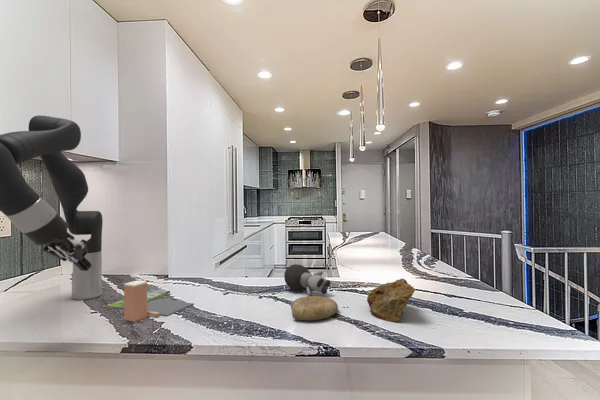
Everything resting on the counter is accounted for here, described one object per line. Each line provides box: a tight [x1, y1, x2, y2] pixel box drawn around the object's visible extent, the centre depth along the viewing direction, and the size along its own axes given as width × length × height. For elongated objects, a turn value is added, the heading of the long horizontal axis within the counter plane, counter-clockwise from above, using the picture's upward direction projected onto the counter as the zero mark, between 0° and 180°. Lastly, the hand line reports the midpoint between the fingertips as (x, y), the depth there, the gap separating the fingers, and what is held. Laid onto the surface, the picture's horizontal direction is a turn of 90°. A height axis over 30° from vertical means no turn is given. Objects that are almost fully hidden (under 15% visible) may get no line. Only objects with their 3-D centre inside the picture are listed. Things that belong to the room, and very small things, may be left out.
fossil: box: [290, 295, 339, 321], centre depth 97 cm, size 17×15×5 cm
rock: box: [366, 277, 416, 323], centre depth 97 cm, size 20×15×10 cm
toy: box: [283, 264, 331, 296], centre depth 120 cm, size 11×12×20 cm
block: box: [123, 280, 148, 322], centre depth 94 cm, size 4×4×11 cm
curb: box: [147, 311, 161, 319], centre depth 97 cm, size 12×1×1 cm, turn 67°
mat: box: [147, 298, 195, 318], centre depth 104 cm, size 16×12×1 cm
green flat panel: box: [106, 289, 171, 310], centre depth 113 cm, size 20×1×10 cm
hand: (87, 268), depth 80 cm, fingers closed
